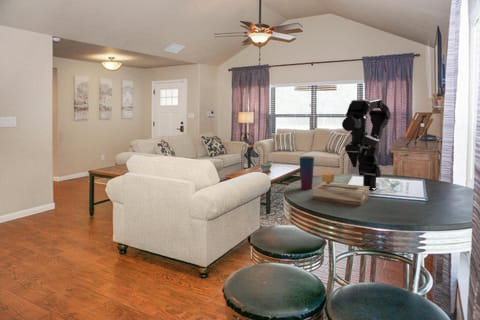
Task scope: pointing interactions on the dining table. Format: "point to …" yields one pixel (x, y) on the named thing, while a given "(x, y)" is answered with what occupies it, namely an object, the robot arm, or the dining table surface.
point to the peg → (327, 178)
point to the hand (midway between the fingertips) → (357, 165)
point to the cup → (306, 172)
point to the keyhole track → (341, 193)
